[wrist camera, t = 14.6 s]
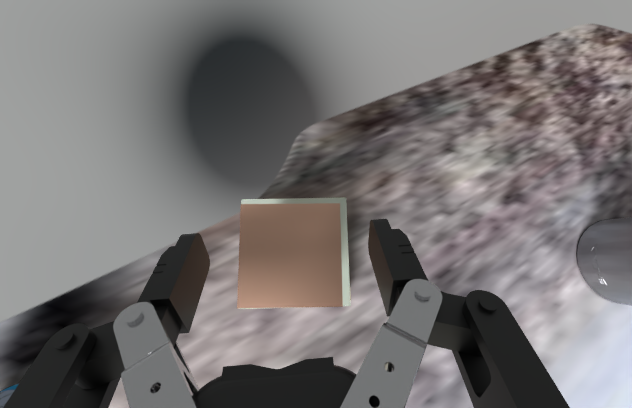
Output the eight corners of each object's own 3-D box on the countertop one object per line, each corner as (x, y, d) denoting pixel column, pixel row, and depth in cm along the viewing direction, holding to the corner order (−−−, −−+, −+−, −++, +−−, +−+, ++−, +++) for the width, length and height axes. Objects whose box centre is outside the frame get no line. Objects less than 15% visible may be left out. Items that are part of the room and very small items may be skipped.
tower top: (341, 204, 29) (346, 197, 25) (344, 297, 27) (350, 305, 23) (251, 206, 28) (241, 199, 24) (249, 300, 27) (239, 309, 23)
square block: (328, 223, 24) (339, 203, 14) (329, 284, 23) (342, 306, 14) (269, 224, 24) (240, 204, 14) (268, 285, 23) (237, 308, 13)
